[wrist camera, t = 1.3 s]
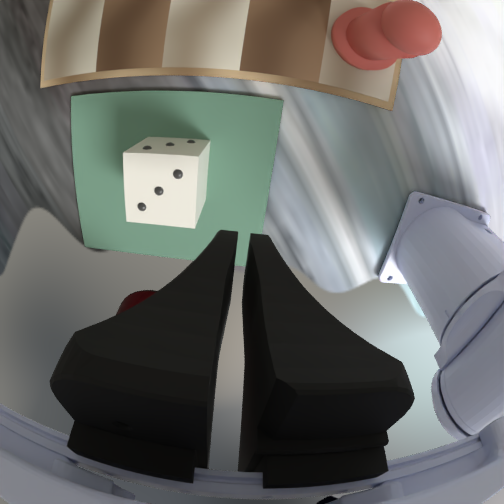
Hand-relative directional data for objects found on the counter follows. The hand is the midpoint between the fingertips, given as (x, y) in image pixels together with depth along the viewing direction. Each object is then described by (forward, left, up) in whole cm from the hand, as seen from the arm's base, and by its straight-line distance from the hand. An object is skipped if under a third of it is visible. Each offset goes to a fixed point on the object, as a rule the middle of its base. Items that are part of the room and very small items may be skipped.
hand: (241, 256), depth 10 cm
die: (+5, 0, -9) cm, 10 cm away
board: (+4, -10, -9) cm, 14 cm away
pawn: (-5, -10, -9) cm, 14 cm away
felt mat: (+6, +1, -9) cm, 11 cm away
